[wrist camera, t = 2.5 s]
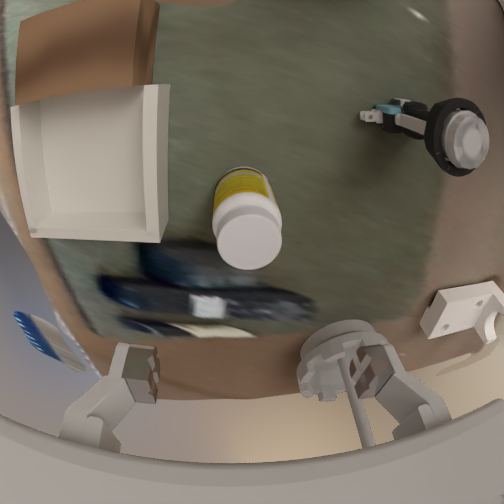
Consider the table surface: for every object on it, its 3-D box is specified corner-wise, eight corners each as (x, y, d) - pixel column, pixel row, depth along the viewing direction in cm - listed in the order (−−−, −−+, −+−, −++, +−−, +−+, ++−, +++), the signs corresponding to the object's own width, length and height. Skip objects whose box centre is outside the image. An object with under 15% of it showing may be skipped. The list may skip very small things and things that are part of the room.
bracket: (489, 277, 34) (515, 308, 28) (472, 309, 38) (494, 341, 32) (435, 285, 34) (462, 324, 27) (418, 322, 37) (439, 360, 31)
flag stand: (373, 361, 41) (426, 529, 16) (293, 378, 42) (325, 563, 17) (389, 304, 34) (478, 520, 9) (290, 324, 34) (339, 579, 9)
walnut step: (53, 25, 14) (20, 21, 10) (159, 5, 15) (142, -12, 11) (48, 97, 18) (15, 105, 14) (151, 84, 19) (132, 86, 15)
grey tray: (36, 99, 18) (10, 107, 14) (170, 83, 19) (158, 84, 16) (50, 217, 24) (31, 237, 21) (168, 219, 26) (159, 242, 22)
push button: (358, 143, 23) (423, 184, 14) (355, 83, 20) (426, 94, 11) (419, 141, 23) (491, 181, 14) (419, 87, 20) (498, 107, 11)
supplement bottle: (203, 190, 24) (193, 241, 17) (246, 154, 23) (253, 191, 16) (240, 226, 27) (245, 286, 20) (281, 194, 25) (303, 246, 18)
